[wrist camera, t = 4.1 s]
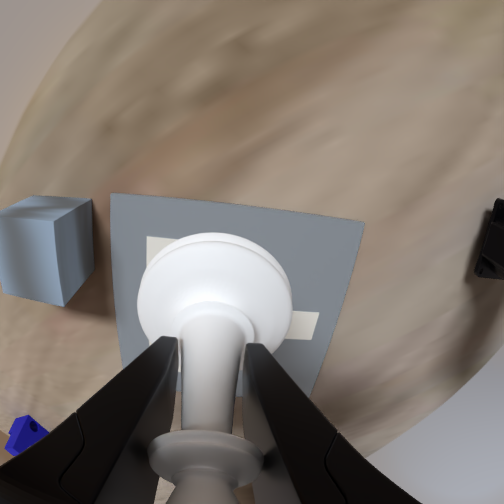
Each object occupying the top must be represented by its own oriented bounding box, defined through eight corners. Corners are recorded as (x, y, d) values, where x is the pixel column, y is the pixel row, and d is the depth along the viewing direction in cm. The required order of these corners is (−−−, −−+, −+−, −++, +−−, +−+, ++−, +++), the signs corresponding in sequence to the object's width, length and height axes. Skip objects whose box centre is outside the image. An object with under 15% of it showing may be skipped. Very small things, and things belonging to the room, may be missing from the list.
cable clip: (16, 417, 27) (0, 448, 21) (29, 413, 26) (12, 447, 20) (77, 466, 31) (68, 496, 25) (94, 465, 30) (85, 498, 25)
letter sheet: (363, 221, 19) (365, 223, 19) (308, 395, 25) (309, 398, 24) (112, 192, 17) (110, 194, 17) (126, 380, 23) (125, 383, 23)
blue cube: (92, 198, 17) (53, 221, 13) (95, 269, 19) (64, 306, 15) (33, 195, 17) (-10, 215, 12) (39, 261, 19) (3, 292, 14)
